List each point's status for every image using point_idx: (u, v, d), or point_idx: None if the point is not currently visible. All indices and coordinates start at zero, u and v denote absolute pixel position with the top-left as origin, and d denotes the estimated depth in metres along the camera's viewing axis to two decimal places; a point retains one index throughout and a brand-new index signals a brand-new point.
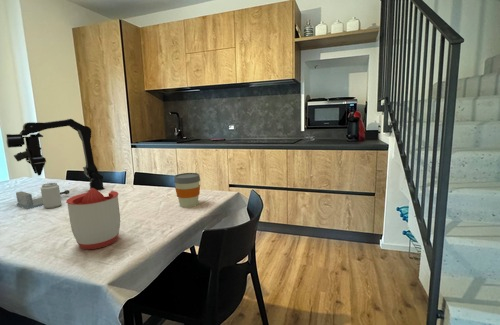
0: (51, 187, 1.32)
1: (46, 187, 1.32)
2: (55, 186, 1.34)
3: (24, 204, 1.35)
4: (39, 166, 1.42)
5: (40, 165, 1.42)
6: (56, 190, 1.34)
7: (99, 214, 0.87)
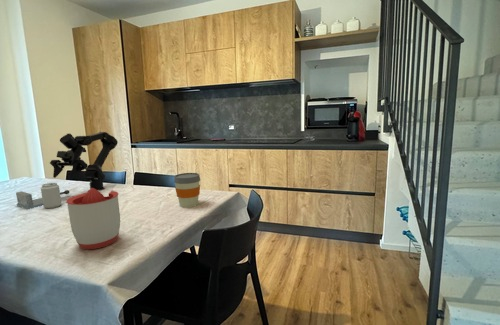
0: (51, 187, 1.32)
1: (46, 187, 1.32)
2: (55, 186, 1.34)
3: (24, 204, 1.35)
4: (76, 170, 1.44)
5: (77, 169, 1.45)
6: (56, 190, 1.34)
7: (99, 214, 0.87)
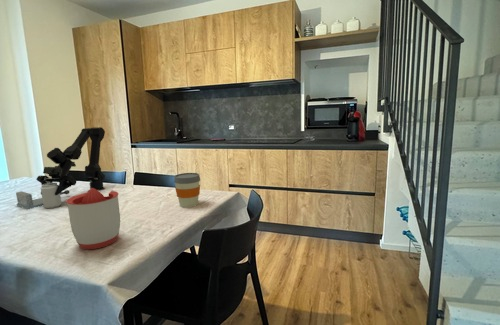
0: (51, 187, 1.32)
1: (46, 186, 1.32)
2: (55, 186, 1.34)
3: (24, 204, 1.35)
4: (63, 186, 1.37)
5: (64, 186, 1.37)
6: None
7: (99, 214, 0.87)
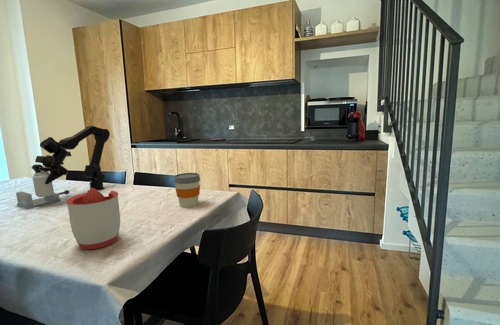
0: (41, 176, 1.33)
1: (36, 175, 1.33)
2: (46, 175, 1.35)
3: (24, 204, 1.35)
4: (54, 176, 1.37)
5: (55, 175, 1.37)
6: None
7: (99, 214, 0.87)
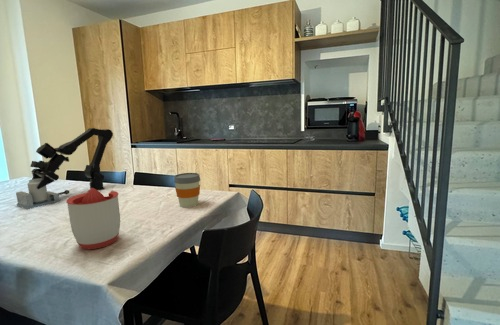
0: (34, 183, 1.38)
1: (30, 182, 1.38)
2: (38, 182, 1.39)
3: (24, 204, 1.35)
4: (46, 181, 1.40)
5: (47, 181, 1.40)
6: None
7: (99, 214, 0.87)
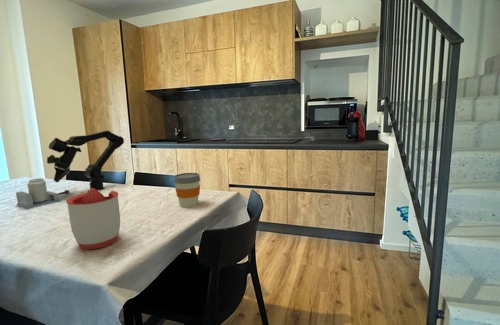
0: (34, 183, 1.38)
1: (30, 182, 1.38)
2: (38, 182, 1.39)
3: (24, 204, 1.35)
4: (59, 172, 1.46)
5: (61, 172, 1.46)
6: (39, 186, 1.39)
7: (99, 214, 0.87)
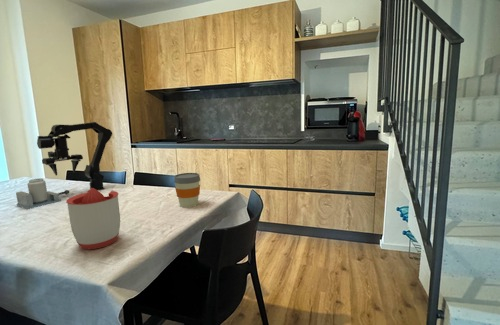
0: (34, 183, 1.38)
1: (30, 182, 1.38)
2: (38, 182, 1.39)
3: (24, 204, 1.35)
4: None
5: None
6: (39, 186, 1.39)
7: (99, 214, 0.87)
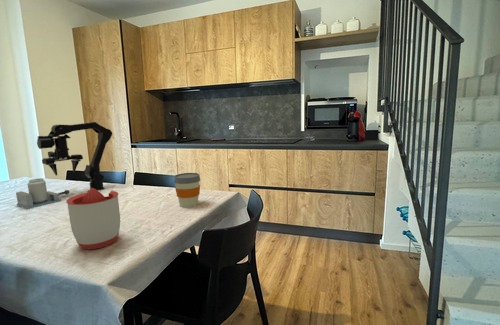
0: (34, 183, 1.38)
1: (30, 182, 1.38)
2: (38, 182, 1.39)
3: (24, 204, 1.35)
4: None
5: None
6: (39, 186, 1.39)
7: (99, 214, 0.87)
